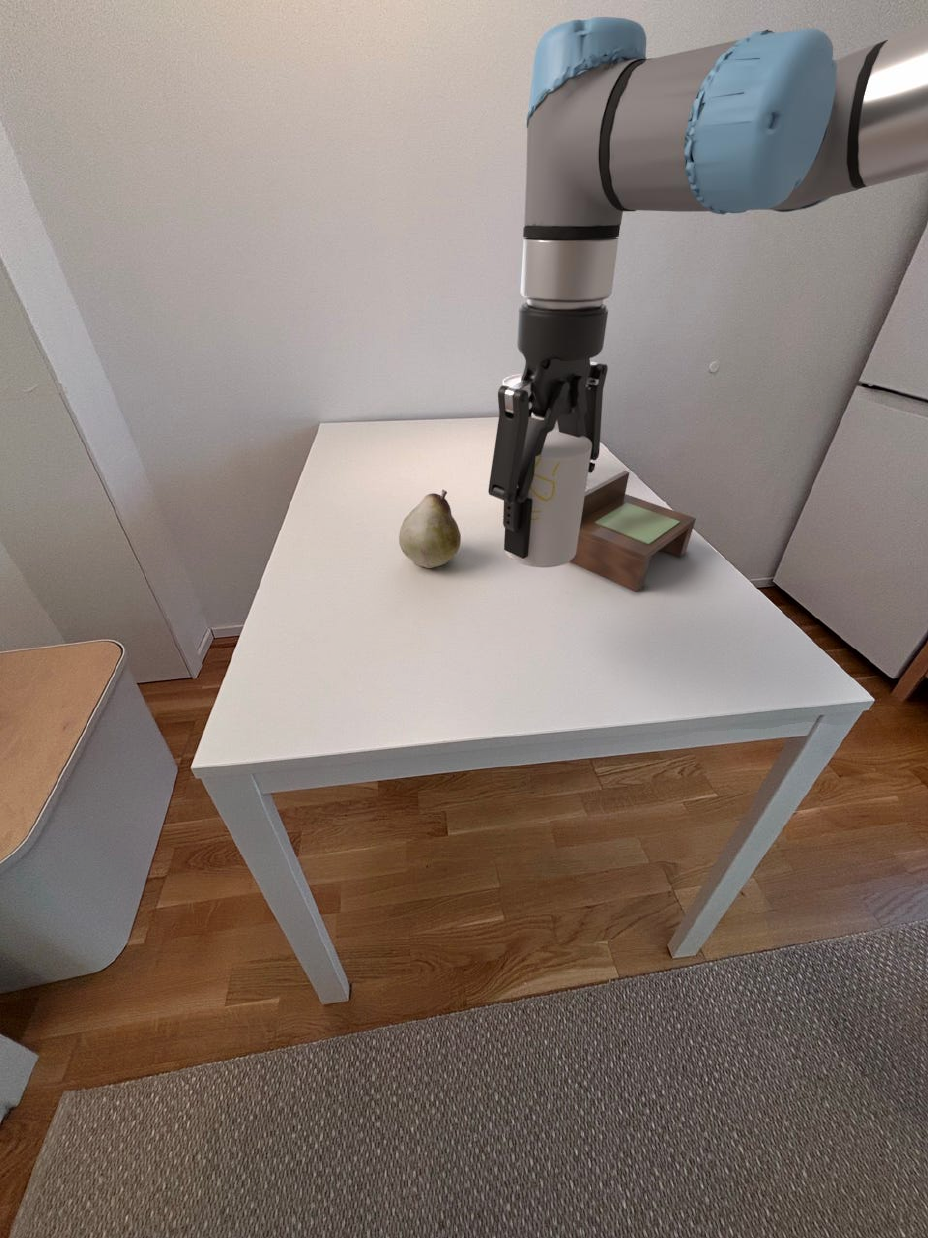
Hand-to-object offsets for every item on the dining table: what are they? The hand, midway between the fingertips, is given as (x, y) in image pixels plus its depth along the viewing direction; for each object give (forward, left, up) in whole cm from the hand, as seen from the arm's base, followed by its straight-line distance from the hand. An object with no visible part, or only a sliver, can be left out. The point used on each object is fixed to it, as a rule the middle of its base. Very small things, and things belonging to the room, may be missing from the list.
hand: (541, 537), depth 58 cm
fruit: (+26, -6, -17) cm, 32 cm away
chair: (+4, -30, -17) cm, 34 cm away
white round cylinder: (0, 0, -1) cm, 1 cm away
